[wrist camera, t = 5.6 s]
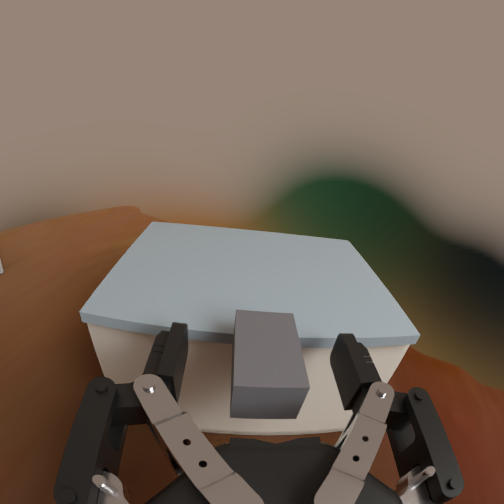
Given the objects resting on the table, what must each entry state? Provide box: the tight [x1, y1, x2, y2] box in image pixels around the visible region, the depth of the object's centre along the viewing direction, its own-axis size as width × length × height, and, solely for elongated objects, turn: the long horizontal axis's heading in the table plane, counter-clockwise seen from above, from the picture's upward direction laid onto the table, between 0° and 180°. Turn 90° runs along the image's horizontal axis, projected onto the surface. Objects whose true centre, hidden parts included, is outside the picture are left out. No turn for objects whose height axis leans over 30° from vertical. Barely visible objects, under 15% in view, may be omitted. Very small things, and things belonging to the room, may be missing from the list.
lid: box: [79, 222, 420, 419], centre depth 20 cm, size 22×22×2 cm
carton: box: [87, 323, 410, 435], centre depth 26 cm, size 22×16×12 cm
